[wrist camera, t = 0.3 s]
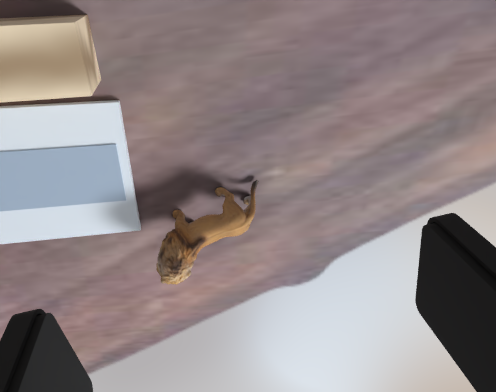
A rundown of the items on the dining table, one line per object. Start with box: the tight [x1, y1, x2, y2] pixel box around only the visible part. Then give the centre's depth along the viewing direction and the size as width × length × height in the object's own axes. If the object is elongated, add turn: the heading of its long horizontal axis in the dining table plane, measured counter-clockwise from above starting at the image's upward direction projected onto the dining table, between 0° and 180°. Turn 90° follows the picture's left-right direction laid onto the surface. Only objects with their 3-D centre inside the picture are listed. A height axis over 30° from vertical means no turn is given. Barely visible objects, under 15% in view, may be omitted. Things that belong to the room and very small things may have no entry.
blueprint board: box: [0, 100, 141, 244], centre depth 44 cm, size 16×16×1 cm
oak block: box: [0, 15, 101, 103], centre depth 35 cm, size 6×13×6 cm, turn 91°
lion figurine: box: [157, 180, 259, 284], centre depth 46 cm, size 15×5×9 cm, turn 122°
